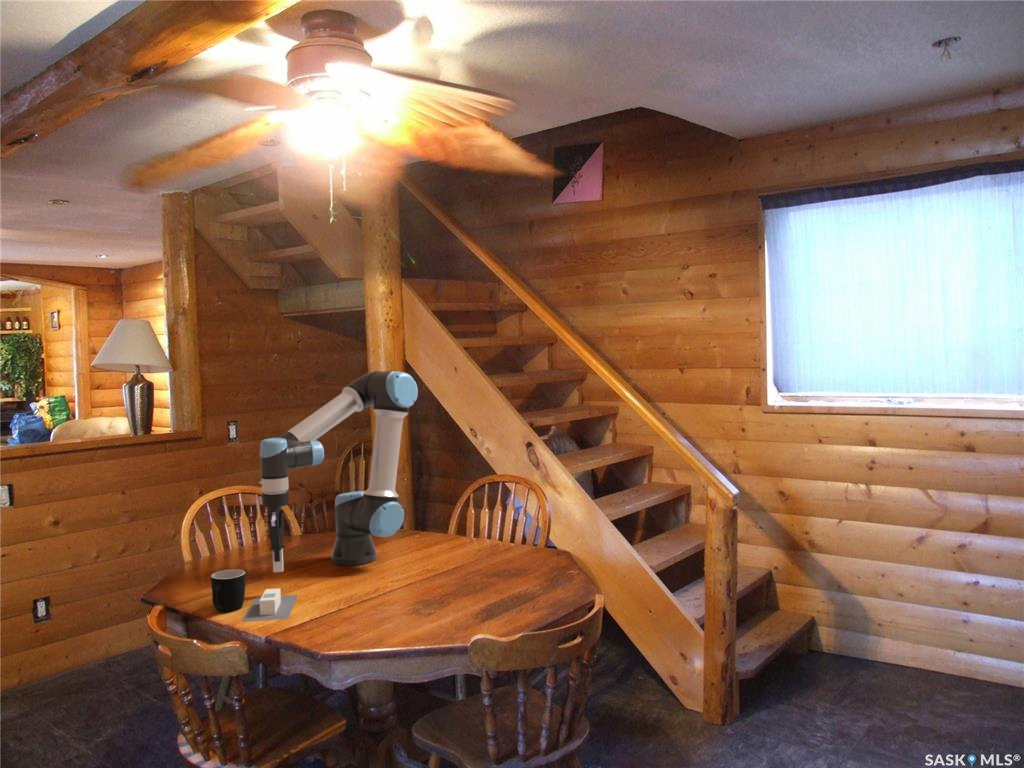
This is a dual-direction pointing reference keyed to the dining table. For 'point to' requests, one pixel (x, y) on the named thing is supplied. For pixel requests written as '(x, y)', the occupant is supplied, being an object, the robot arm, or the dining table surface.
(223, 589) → the mug
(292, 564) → the dining table surface
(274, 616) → the felt mat
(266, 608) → the pillar
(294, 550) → the dining table surface
